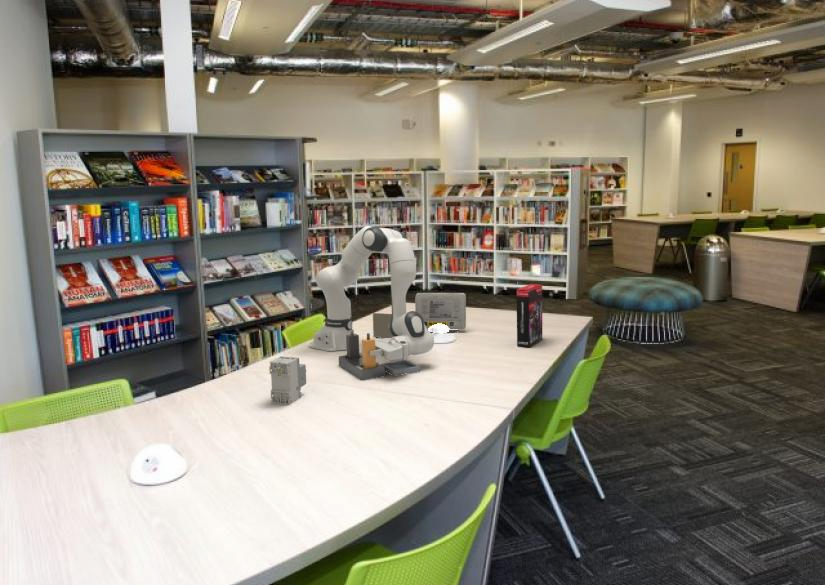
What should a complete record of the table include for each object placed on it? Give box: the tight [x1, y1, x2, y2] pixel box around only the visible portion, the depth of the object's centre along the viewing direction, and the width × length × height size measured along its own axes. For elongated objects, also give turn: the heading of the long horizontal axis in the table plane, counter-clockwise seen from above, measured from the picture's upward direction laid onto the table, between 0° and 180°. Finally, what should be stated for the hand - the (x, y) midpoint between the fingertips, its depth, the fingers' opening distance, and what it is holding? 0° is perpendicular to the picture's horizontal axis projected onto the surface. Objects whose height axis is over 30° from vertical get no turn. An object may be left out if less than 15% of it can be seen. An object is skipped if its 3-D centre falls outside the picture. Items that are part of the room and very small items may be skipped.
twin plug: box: [346, 328, 360, 359], centre depth 273 cm, size 3×4×14 cm
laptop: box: [372, 312, 394, 339], centre depth 324 cm, size 18×12×13 cm
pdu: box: [338, 352, 386, 381], centre depth 267 cm, size 24×10×4 cm, turn 29°
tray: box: [380, 359, 421, 377], centre depth 267 cm, size 12×12×2 cm
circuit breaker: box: [268, 355, 307, 406], centre depth 235 cm, size 8×14×15 cm, turn 161°
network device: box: [414, 292, 467, 333], centre depth 330 cm, size 26×9×20 cm, turn 84°
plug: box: [361, 332, 377, 369], centre depth 259 cm, size 3×4×14 cm
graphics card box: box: [516, 283, 543, 348], centre depth 304 cm, size 17×7×27 cm, turn 148°
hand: (366, 351), depth 258 cm, fingers closed on plug, 3 cm apart
